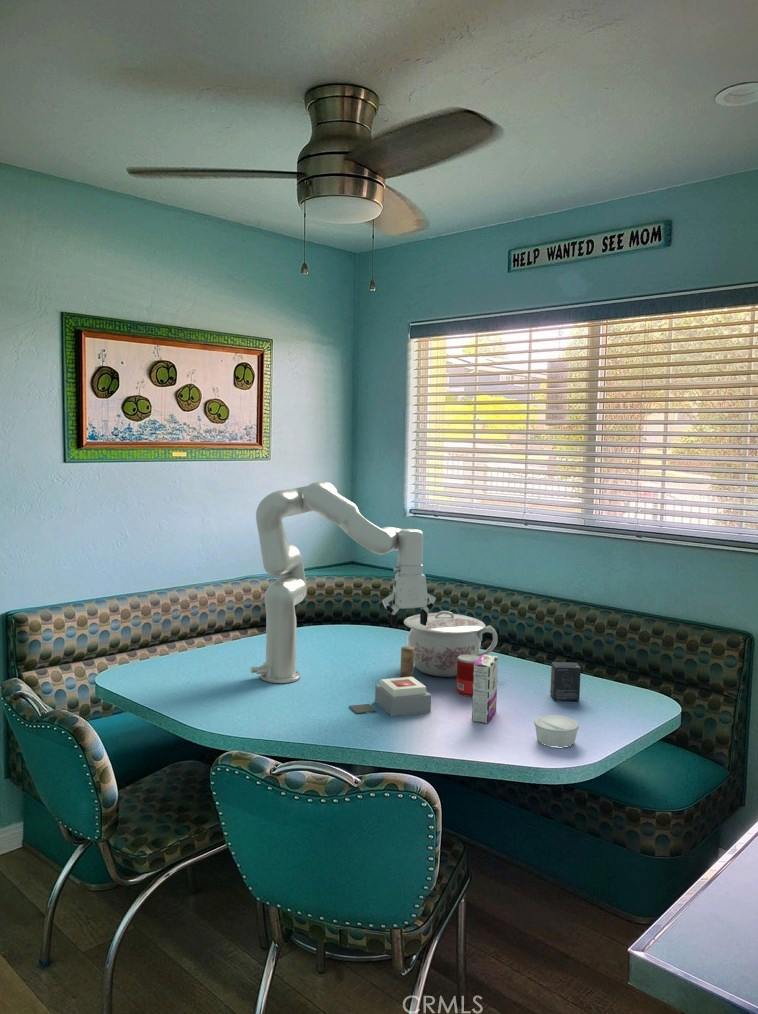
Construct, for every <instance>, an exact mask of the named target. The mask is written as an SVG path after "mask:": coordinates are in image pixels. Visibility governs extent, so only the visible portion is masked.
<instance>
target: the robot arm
mask: <svg viewBox="0 0 758 1014" xmlns="http://www.w3.org/2000/svg"><path fill="white" fill-rule="evenodd" d="M309 512H315V513H317V514H319V515H320V516H322V517H323V518H324V519H326V520H327V521H329V522H331V523H333V524H334V525H336V526H337V527H339V528H340V529H341V530H342V531H343V532H344V533H345V534H346V535H347V536H348V537H350V539H352V540H353V541H354V542H356V543H357V544H358V545H360V546H361V547H363V548H365V549H366V550H368V551H369V552H371V553H373V554H376V555H382V556H383V555H386V554H389V553H391V552H393V551H397V564H396V566H393V569H392V570H393V572H395V573H396V574H395V575H394V580H393V584H392V585H393V586H392V593H391V594H390V595H387V597H385V598H383V599H382V601H381V602H382V604H383V606H384V609H385V610H386V611H387V612H388V613H389V623H390V626H391V627H392V628H394V629H398V614H397V613H398V611H399V610H406V609H407V610H408V609H409V610H411V609H421V610H420V613H419V614H420V624H422V625H424V626H426V622H427V618H428V613H430V610H431V609H432V608H433V607H434V604H435V601H436V600H437V598H436V596H434V595H431V594H430V593H428V585H427V578H426V574H424V573H423V566H424V565H423V561H424V558H423V557H424V533H423V531H422V530H420V529H418V528H417V529H416V528H405V529H404V528H398V527H395V526H394V527H392V526H385V527H379V526H377V525H375V524H374V523H372V522H371V521H369V520H368V519H367V518H365V517H364V516H363V515H362V514H361V512H360V510H359V508H358V506H357V505H356V503H354V502H353V501H351V500H349V499H347V498H346V497H344V496H342V495H341V494H340V493H338V491H337V488H336V487H335V486H334V484H332V483H331V482H329V481H318V482H317V481H316V482H312V483H310V484H308V485H305V486H301V487H299V486H298V487H295V488H290V489H281V490H275V491H273V492H271V493H269V494H267V495H266V496H264V498H263V499H262V500H260V502H259V504H258V506H257V508H256V512H255V513H256V514H255V520H256V521H255V522H256V527H257V531H258V540H259V545H260V552H261V557H262V565H263V568H264V570H265V572H266V574H268V575H269V576H272V577H277V580H276V581H273V582H272V583H271V584H270V585H268V587H267V588H266V591H265V593H264V607H265V614H266V615H265V618H266V621H265V622H266V625H265V626H266V628H265V629H266V631H265V632H266V634H265V638H266V639H265V661H264V662H263V663H262V664H260V666H251V667H250V674H254V673H255V674H256V675H260V679H261V680H262V681H264V682H267V683H273V684H288V683H292V682H296V681H298V680H299V679H301V673H300V672H299V671H298V670H296V666H297V665H296V663H297V661H296V659H297V616H296V608H295V606H296V605H298V604H300V603H301V602H302V601H304V599H305V597H306V596H307V593H308V592H307V591H308V590H307V587H308V586H307V585H308V584H307V579H306V574H305V567H304V561H303V555H302V554H301V551H300V550H299V548H298V547H297V546H295V544H292V543H290V542H289V543H288V539H287V532H286V529H285V526H284V524H283V518H286V517H292V516H297V515H300V514H305V513H309ZM428 599H429V600H428ZM391 601H392V602H391ZM390 603H391V604H392V605H391V606H390Z"/></svg>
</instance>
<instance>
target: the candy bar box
mask: <svg viewBox="0 0 758 1014" xmlns="http://www.w3.org/2000/svg"><path fill="white" fill-rule="evenodd" d="M498 661H499V656H498V655H491V654H487V655H482V656H481V657H480V658H479V659H478V660H477V661H476V662H475V664H474V665H473V696H472V700H471V701H472V702H471V703H472V707H471V710H472V711H471V712H472V713H471V722H474V723H478V724H479V723H481V724H487V725H488V724H489V723H490V721H491V720H492V718H493V716H495V713H496V712H497V693H498V670H499V669H498V668H499V667H498V665H499V664H498V663H499V662H498Z"/></svg>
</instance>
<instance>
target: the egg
mask: <svg viewBox="0 0 758 1014" xmlns="http://www.w3.org/2000/svg"><path fill="white" fill-rule="evenodd" d="M395 685H396V686H397V687H404V686H411V683H410V682H406V681H398V682H395Z"/></svg>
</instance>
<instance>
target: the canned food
mask: <svg viewBox="0 0 758 1014" xmlns="http://www.w3.org/2000/svg"><path fill="white" fill-rule="evenodd" d="M479 658H480V656H477V655H469V654H465V655H460V656H458V659H457V676H456V687H455V688H456V690H455V691H456V692H457V693H458V694H459V695H461V696H464V695H466V697H473V665H474V664H475V662H476V661H477V660H478V659H479Z"/></svg>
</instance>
